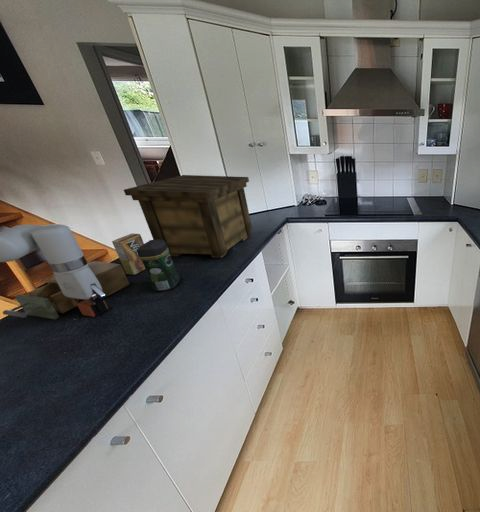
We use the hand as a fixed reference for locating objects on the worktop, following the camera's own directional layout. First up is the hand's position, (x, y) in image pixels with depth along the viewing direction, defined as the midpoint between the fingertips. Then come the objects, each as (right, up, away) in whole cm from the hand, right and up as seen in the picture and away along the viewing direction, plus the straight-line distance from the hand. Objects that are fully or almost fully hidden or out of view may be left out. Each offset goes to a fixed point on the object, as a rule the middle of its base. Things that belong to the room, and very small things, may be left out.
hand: (95, 310), depth 92 cm
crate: (+8, +24, +50) cm, 56 cm away
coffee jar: (+12, +7, +16) cm, 21 cm away
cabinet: (-10, +5, +10) cm, 15 cm away
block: (0, 0, 0) cm, 0 cm away
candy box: (-8, +12, +26) cm, 30 cm away
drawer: (-12, +1, 0) cm, 12 cm away
